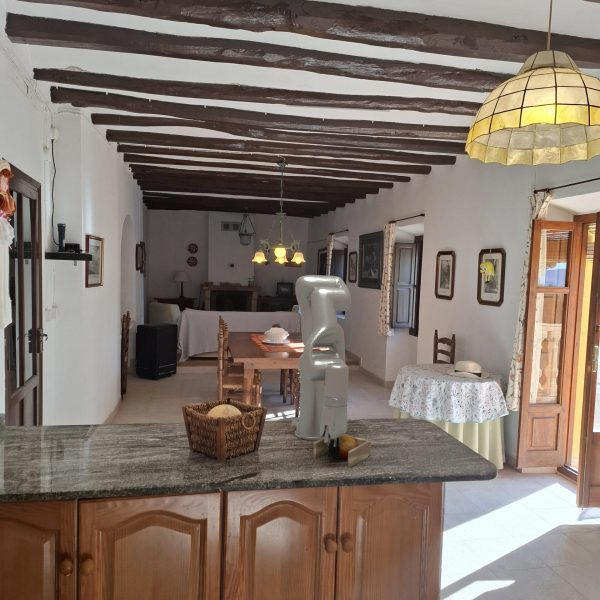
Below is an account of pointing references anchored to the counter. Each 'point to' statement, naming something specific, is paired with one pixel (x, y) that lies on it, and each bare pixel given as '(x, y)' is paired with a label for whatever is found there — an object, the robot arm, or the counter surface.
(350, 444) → the fruit
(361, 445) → the box
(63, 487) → the counter surface
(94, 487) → the counter surface
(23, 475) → the counter surface
